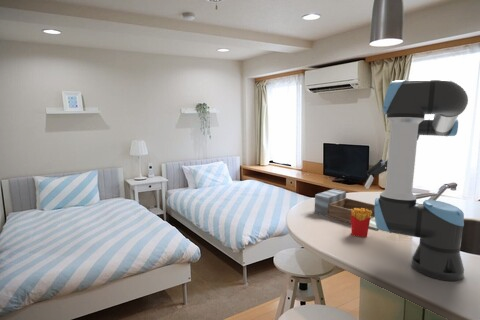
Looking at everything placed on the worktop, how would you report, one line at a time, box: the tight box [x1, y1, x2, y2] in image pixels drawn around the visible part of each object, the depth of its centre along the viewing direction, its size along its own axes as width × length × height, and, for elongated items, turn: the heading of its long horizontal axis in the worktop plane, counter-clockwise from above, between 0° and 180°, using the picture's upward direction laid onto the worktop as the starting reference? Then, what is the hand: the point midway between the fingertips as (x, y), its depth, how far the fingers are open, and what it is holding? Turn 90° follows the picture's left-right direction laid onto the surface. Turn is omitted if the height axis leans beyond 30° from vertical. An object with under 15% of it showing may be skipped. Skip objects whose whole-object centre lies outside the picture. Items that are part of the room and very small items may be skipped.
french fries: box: [350, 208, 372, 238], centre depth 133 cm, size 8×4×12 cm, turn 71°
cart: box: [314, 188, 380, 231], centre depth 156 cm, size 18×34×10 cm, turn 41°
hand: (379, 190), depth 138 cm, fingers open, 13 cm apart
